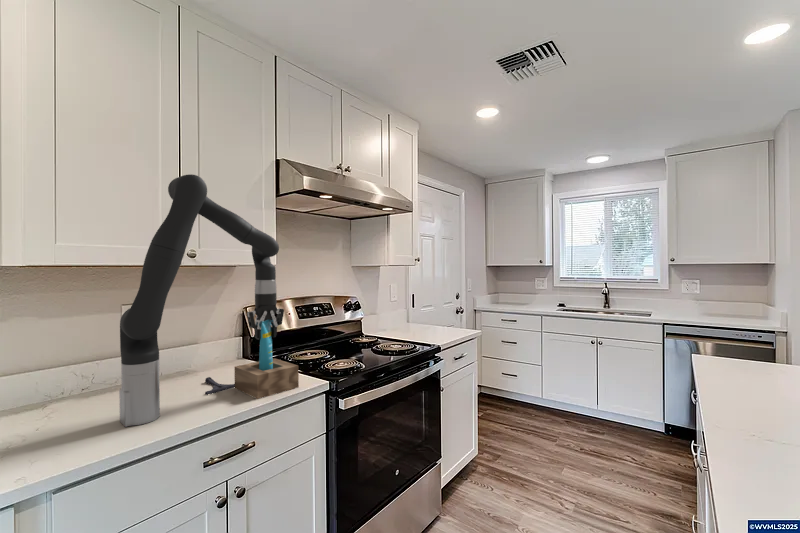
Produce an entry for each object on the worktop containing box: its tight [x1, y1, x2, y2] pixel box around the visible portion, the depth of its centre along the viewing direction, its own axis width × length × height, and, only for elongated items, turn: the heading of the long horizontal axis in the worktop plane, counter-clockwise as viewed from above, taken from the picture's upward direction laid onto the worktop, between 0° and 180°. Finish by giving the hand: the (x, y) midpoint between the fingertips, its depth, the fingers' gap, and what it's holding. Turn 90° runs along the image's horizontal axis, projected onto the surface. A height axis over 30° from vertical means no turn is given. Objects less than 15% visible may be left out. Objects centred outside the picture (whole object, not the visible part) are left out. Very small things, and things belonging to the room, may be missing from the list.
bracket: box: [204, 376, 235, 396], centre depth 142 cm, size 14×15×3 cm
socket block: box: [234, 358, 300, 400], centre depth 139 cm, size 16×17×8 cm
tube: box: [258, 319, 273, 371], centre depth 139 cm, size 7×5×19 cm, turn 3°
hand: (266, 337), depth 139 cm, fingers closed on tube, 5 cm apart
